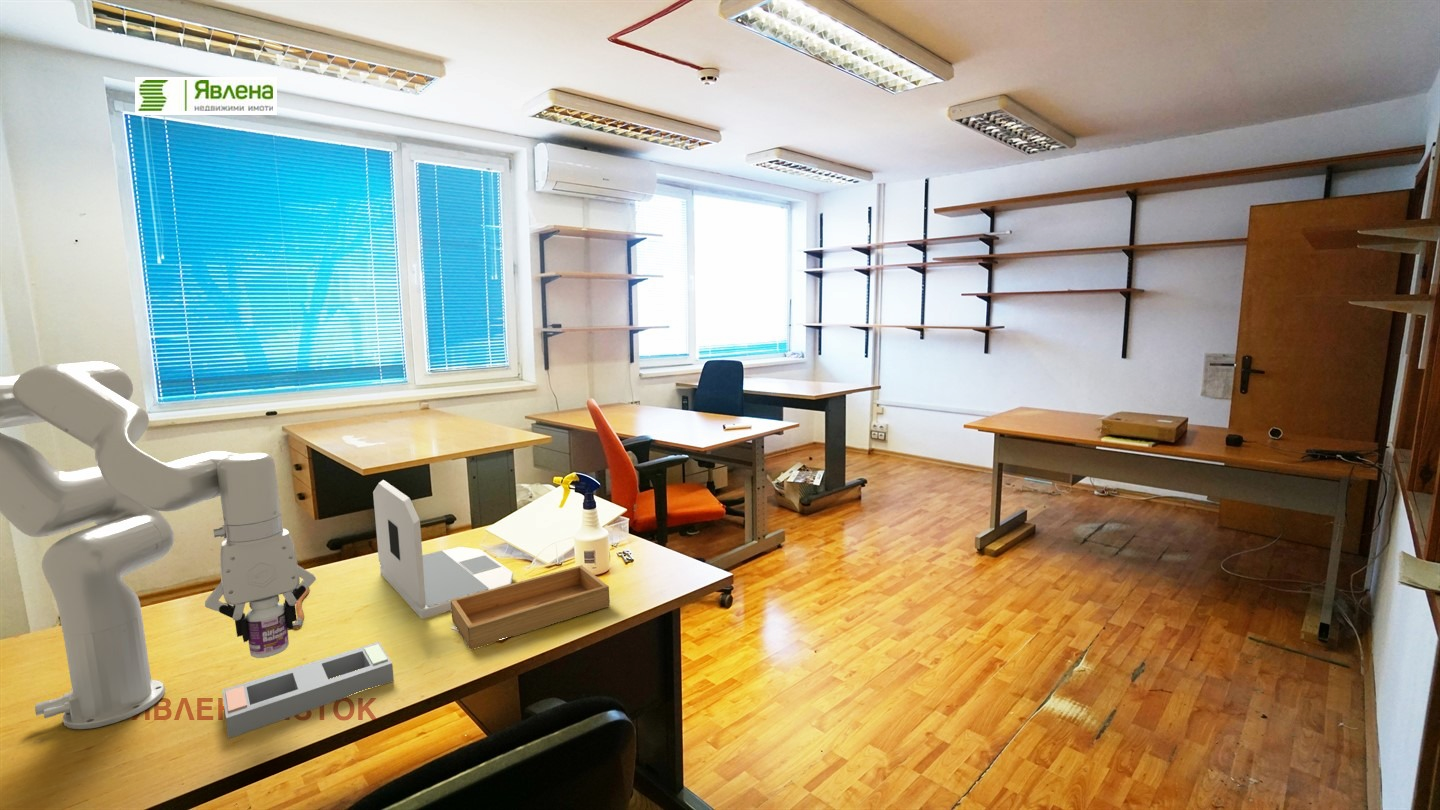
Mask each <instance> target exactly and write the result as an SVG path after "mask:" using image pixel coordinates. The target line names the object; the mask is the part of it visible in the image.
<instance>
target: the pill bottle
mask: <svg viewBox="0 0 1440 810" xmlns="http://www.w3.org/2000/svg"><path fill="white" fill-rule="evenodd" d="M279 596H280V595H276V596H272V597H268V598H264V599H260V600H256V601H252V602H248V603H249V605H248V606H249V608H250V610H249V611H248V612H247V613H246V614H245V616H246V621H247V628H248V636H249V640H248V641H247V642H248V646H249V654H250V656H251V657H252V658H256V659H265V658H269V657H273V656H276V655H279V654H281V653H283V652H284V651H285V650H286V649H287V648H288V647H289V644H290V640H289V631H288V630H289V629H287V622H286V613H285V607H284V605H283V604H282V603H280V597H279Z"/></svg>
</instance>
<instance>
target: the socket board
mask: <svg viewBox="0 0 1440 810" xmlns="http://www.w3.org/2000/svg"><path fill="white" fill-rule="evenodd" d="M393 667H394V666H393V662H392V660H391V658H390V657H389V656H388V654H387V652H386V651H385V650H384V648H383V646H382V645H381V643H380V641H377V642H374V643H370V644H367V645H362V646H360V647H356V648H354V649H350V650H347V651H344V652H341V653H338V654H334V655H331V656H328V657H325V658H322V659H318V660H314V661H312V662H309V663H308V662H307V663H306V664H301V665H299V666H296V667H292V668H289V669H285V670H283V671H279V672H276V673H273V674H269V675H267V676H263V677H260V678H257V679H254V680H253V679H252V680H249V681H247V682H244V683H240V684H237V685H234V686H230V687H228V688H225V689H224V688H222V691H221V692H222V700H223V706H224V707H223V708H224V714H225V723H226V728H227V736H228V739H231V738H234V737H236V736H239V735H242V734H244V733H248V732H250V731H254V730H257V729H260V728H262V727H265V726H269V725H271V724H273V723H277V722H280V721H283V720H285V719H289V718H292V717H294V716H297V715H300V714H302V713H307V712H308V711H311V710H314V709H317V708H320V707H322V706H325V705H328V704H331V703H334V701H335V702H337V701H339V699H340V700H342V699H341V698H343V699H345V698H344V697H346V698H348V697H347V696H349V695H351V694H354V693H356V692H359V691H362V690H365V689H368V688H372V687H375V686H378V685H380V686H383V685H386V684H389V683H392V682H394V681H395V678H394V670H393V669H394V668H393ZM358 669H359V670H358ZM355 670H356V671H355ZM339 675H340V676H339ZM336 676H337V677H336ZM333 677H334V678H333ZM330 678H331V679H330ZM385 683H386V684H385ZM382 684H383V685H382ZM378 687H379V686H378ZM375 688H376V687H375ZM372 689H373V688H372ZM349 697H350V696H349ZM336 700H337V701H336Z"/></svg>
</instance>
